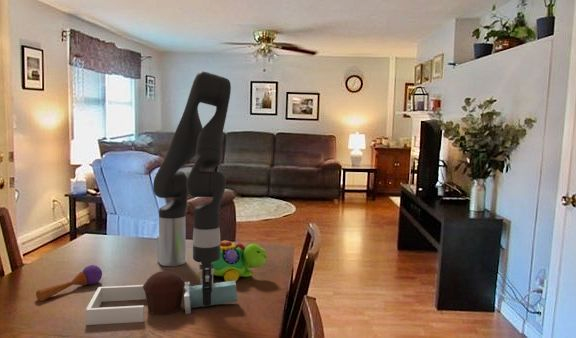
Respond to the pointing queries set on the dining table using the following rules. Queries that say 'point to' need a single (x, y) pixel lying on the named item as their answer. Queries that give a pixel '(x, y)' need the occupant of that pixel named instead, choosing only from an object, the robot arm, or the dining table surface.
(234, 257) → the turtle toy
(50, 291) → the purple ball-ended brown rod
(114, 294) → the bay
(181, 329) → the dining table surface
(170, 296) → the muffin
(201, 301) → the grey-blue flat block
